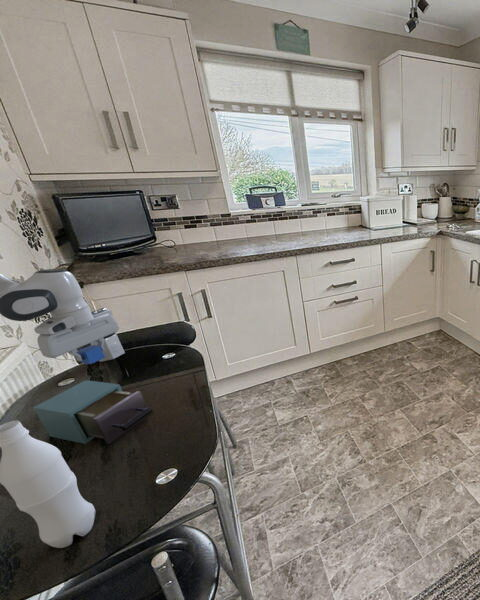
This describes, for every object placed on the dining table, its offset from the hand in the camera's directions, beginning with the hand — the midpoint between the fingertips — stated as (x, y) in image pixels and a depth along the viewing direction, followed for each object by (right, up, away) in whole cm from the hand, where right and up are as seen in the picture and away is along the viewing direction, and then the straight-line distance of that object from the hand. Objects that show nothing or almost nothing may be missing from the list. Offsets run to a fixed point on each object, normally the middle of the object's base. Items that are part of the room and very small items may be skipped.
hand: (91, 355), depth 109 cm
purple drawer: (+29, -15, -22) cm, 40 cm away
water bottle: (+43, -25, -48) cm, 69 cm away
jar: (-9, -4, +18) cm, 21 cm away
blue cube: (0, -2, +1) cm, 2 cm away
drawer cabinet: (+18, -16, -19) cm, 31 cm away
